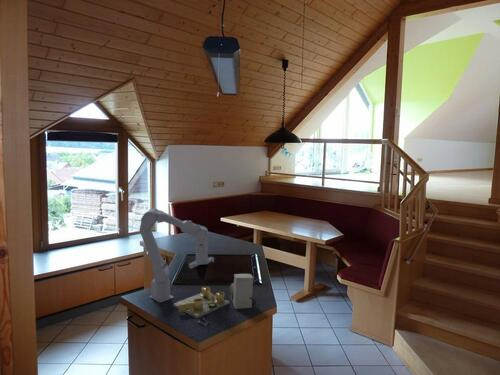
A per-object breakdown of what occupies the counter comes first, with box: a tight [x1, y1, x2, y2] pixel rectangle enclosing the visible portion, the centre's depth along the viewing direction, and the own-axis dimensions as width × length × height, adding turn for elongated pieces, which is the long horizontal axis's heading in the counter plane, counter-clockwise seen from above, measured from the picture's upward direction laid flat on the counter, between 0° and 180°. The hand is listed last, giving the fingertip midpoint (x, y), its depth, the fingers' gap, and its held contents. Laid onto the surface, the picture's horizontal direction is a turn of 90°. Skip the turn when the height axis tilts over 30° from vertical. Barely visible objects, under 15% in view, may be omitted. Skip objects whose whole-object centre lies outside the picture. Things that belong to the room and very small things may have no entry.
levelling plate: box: [172, 291, 230, 319], centre depth 168 cm, size 17×20×6 cm
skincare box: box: [232, 273, 254, 310], centre depth 167 cm, size 8×6×15 cm
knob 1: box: [177, 298, 203, 313], centre depth 160 cm, size 11×4×4 cm, turn 118°
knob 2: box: [200, 286, 215, 303], centre depth 172 cm, size 11×4×4 cm, turn 29°
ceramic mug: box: [229, 282, 234, 303], centre depth 175 cm, size 11×8×8 cm
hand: (201, 278), depth 174 cm, fingers closed
